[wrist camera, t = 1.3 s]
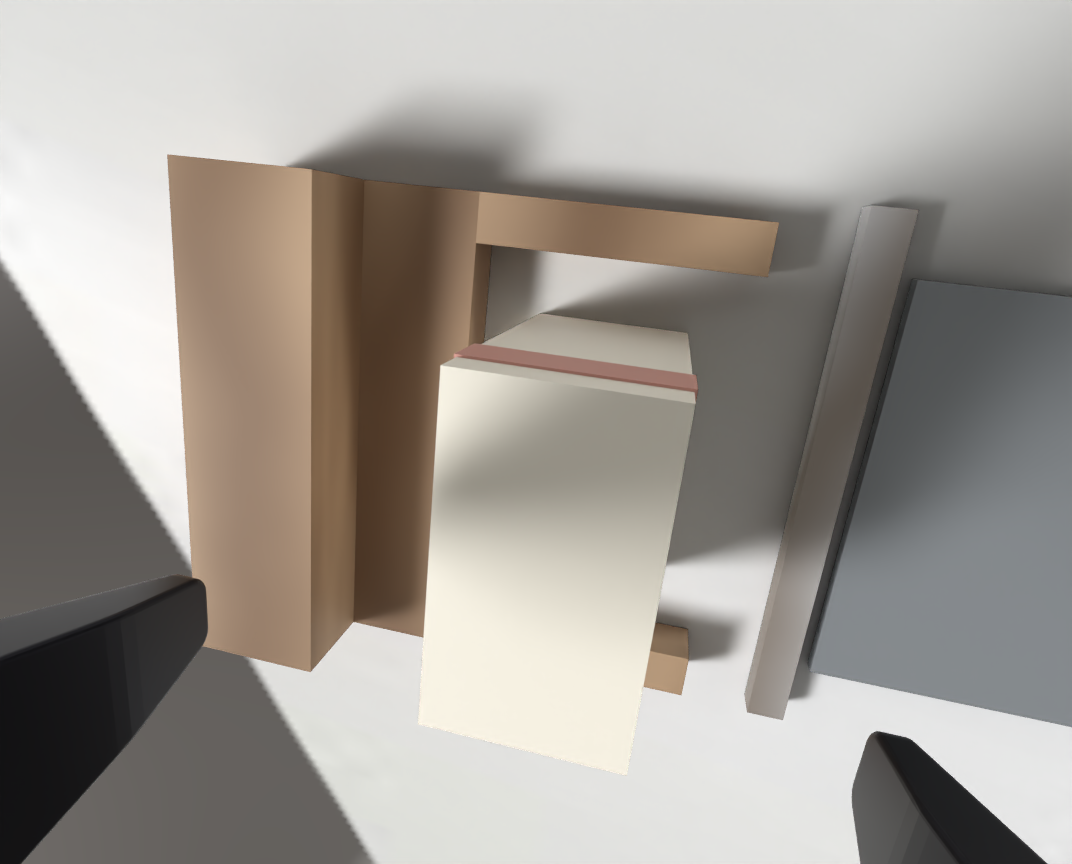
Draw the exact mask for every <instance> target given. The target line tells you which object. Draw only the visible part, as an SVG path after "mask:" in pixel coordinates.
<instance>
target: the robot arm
mask: <svg viewBox="0 0 1072 864" xmlns="http://www.w3.org/2000/svg"><path fill="white" fill-rule="evenodd" d="M207 634H208V613H207V595H206V587H205V585H204V583H203V582H202V581H201V580H200V579H197V578H192V577H188V576H183V575H178V574H173V575H168V576H164V577H161V578H157V579H153V580H149V581H145V582H142V583H138V584H134V585H130V586H126V587H122V588H118V589H114V590H110V591H107V592H102V593H99V594H95V595H91V596H87V597H83V598H79V599H75V600H71V601H68V602H64V603H60V604H56V605H52V606H49V607H44V608H40V609H37V610H33V611H29V612H25V613H22V614H17V615H13V616H9V617H6V618H2V619H0V864H22V862H23V861H24V860H25V859H26V858H27V857H28V856H29V855H30V853H31V852H32V851H33V850H34V849H35V848H36V847H37V846H38V845H39V844H40V842H41V841H42V840H43V839H44V838H45V837H46V836H47V835H48V834H49V832H50V831H51V830H52V829H53V828H54V827H55V826H56V825H57V824H58V822H59V821H60V820H61V819H62V818H63V817H64V816H65V815H66V814H67V812H68V811H69V810H70V809H71V808H72V807H73V806H74V805H75V803H76V802H77V801H78V800H79V799H80V798H81V797H82V796H83V795H84V793H85V792H86V791H87V790H88V789H89V788H90V787H91V786H92V784H93V783H94V782H95V781H96V780H97V779H98V778H99V776H101V774H102V773H103V772H104V771H105V770H106V769H107V768H108V767H109V766H110V764H111V763H112V762H113V761H114V760H115V759H116V758H117V757H118V755H119V754H120V753H121V752H122V751H123V750H124V749H125V747H126V746H127V745H128V744H129V743H130V742H131V740H132V739H133V738H134V737H135V735H136V734H137V733H138V732H139V730H140V729H141V728H142V727H143V725H144V724H145V723H146V721H147V720H148V718H149V717H150V716H151V715H152V713H153V712H154V711H155V709H156V708H157V707H158V705H159V704H160V703H161V701H162V700H163V699H164V697H165V696H166V695H167V693H168V692H169V691H170V689H171V688H172V687H173V685H174V684H175V683H176V681H177V680H178V679H179V677H180V676H181V674H182V673H183V672H184V671H185V669H186V668H187V667H188V665H189V664H190V663H191V661H192V660H193V659H194V657H195V656H196V655H197V653H198V652H199V650H200V649H201V648H202V646H203V644H204V642H205V640H206V638H207ZM852 808H853V815H854V822H855V829H856V836H857V843H858V850H859V857H860V864H1047V863H1046V862H1045V861H1044V860H1043V859H1042V858H1041V857H1040V856H1038V855H1037V854H1036V853H1035V852H1034V851H1033V850H1032V849H1031V848H1030V847H1029V846H1028V845H1026V844H1025V843H1024V842H1023V841H1022V840H1021V839H1020V838H1019V837H1018V836H1017V835H1015V834H1014V833H1013V832H1012V831H1011V830H1010V829H1009V828H1008V827H1007V826H1006V825H1005V824H1003V823H1002V822H1001V821H1000V820H999V819H998V818H997V817H996V816H995V815H994V814H992V813H991V812H990V811H989V810H988V809H987V808H986V807H985V806H984V805H983V804H982V803H980V802H979V801H978V800H977V799H976V798H975V797H974V796H973V795H972V794H971V793H969V792H968V791H967V790H966V789H965V788H964V787H963V786H962V785H961V784H960V783H959V782H957V781H956V780H955V779H954V778H953V777H952V776H951V775H950V774H949V773H948V772H946V771H945V770H944V769H943V768H942V767H941V766H940V765H939V764H938V763H937V762H936V761H934V760H933V759H932V758H931V757H930V756H929V755H928V754H927V753H926V752H925V751H923V750H922V749H921V748H920V747H919V746H918V745H917V744H916V743H915V742H913V741H912V740H911V739H909V738H906V737H902V736H897V735H893V734H888V733H884V732H879V731H876V732H874V733H872V734H871V735H870V736H869V738H868V740H867V742H866V745H865V748H864V751H863V755H862V758H861V761H860V764H859V767H858V770H857V773H856V777H855V780H854V783H853V788H852Z"/></svg>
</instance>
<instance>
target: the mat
mask: <svg viewBox="0 0 1072 864" xmlns="http://www.w3.org/2000/svg"><path fill="white" fill-rule="evenodd" d="M808 666H809V669H810V672H814V673H819V674H823V675H828V676H833V677H838V678H842V679H847V680H852V681H857V682H861V683H866V684H871V685H875V686H880V687H885V688H890V689H894V690H899V691H904V692H909V693H913V694H918V695H923V696H928V697H932V698H937V699H942V700H946V701H951V702H956V703H961V704H965V705H970V706H975V707H980V708H984V709H989V710H994V711H999V712H1003V713H1008V714H1013V715H1017V716H1022V717H1027V718H1032V719H1036V720H1041V721H1046V722H1051V723H1055V724H1060V725H1065V726H1070V727H1072V297H1068V296H1060V295H1051V294H1042V293H1033V292H1024V291H1016V290H1007V289H998V288H989V287H980V286H971V285H963V284H954V283H945V282H936V281H927V280H919V279H912V282H911V285H910V289H909V293H908V296H907V300H906V304H905V307H904V311H903V315H902V318H901V322H900V326H899V329H898V333H897V337H896V340H895V344H894V348H893V351H892V355H891V359H890V362H889V366H888V370H887V373H886V377H885V381H884V384H883V388H882V392H881V396H880V399H879V403H878V407H877V410H876V414H875V418H874V421H873V425H872V429H871V432H870V436H869V440H868V443H867V447H866V451H865V454H864V458H863V462H862V465H861V469H860V473H859V476H858V480H857V484H856V487H855V491H854V495H853V498H852V502H851V506H850V509H849V513H848V517H847V520H846V524H845V528H844V531H843V535H842V539H841V542H840V546H839V550H838V553H837V557H836V561H835V564H834V568H833V572H832V576H831V579H830V583H829V587H828V590H827V594H826V598H825V601H824V605H823V609H822V612H821V616H820V620H819V623H818V627H817V631H816V634H815V638H814V642H813V645H812V649H811V653H810V656H809V660H808Z"/></svg>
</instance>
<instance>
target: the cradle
mask: <svg viewBox="0 0 1072 864" xmlns="http://www.w3.org/2000/svg"><path fill="white" fill-rule="evenodd" d="M167 157H168V174H169V191H170V208H171V225H172V242H173V259H174V276H175V292H176V309H177V326H178V343H179V360H180V377H181V394H182V411H183V428H184V444H185V461H186V478H187V495H188V512H189V529H190V546H191V563H192V578H197V579H200V580H201V581H202V582H203V583H204V585H205V587H206V595H207V613H208V634H207V638H206V640H205V642H204V644H203V646H204V647H209V648H213V649H217V650H221V651H226V652H229V653H234V654H238V655H242V656H246V657H250V658H254V659H258V660H263V661H267V662H271V663H275V664H279V665H283V666H288V667H292V668H296V669H300V670H304V671H308V672H311V671H312V670H313V669H314V667H315V666H316V665H317V664H318V663H319V662H320V660H321V659H322V658H323V657H324V656H325V654H326V653H327V652H328V651H329V650H330V649H331V647H332V646H333V645H334V644H335V643H336V642H337V640H338V639H339V638H340V637H341V636H342V635H343V633H344V632H345V631H346V630H347V629H348V628H349V626H350V625H351V624H352V623H353V622H357V623H361V624H366V625H370V626H374V627H379V628H383V629H388V630H392V631H397V632H401V633H406V634H410V635H415V636H419V637H424V621H425V605H426V589H427V573H428V557H429V541H430V525H431V509H432V493H433V477H434V461H435V445H436V429H437V413H438V397H439V381H440V365H442V364H444V363H446V362H448V361H450V360H452V359H454V353H456V352H458V351H460V350H462V349H464V348H466V347H468V346H470V345H472V344H474V343H476V344H482V343H484V336H485V324H486V312H487V299H488V287H489V275H490V263H491V251H492V245H498V246H506V247H515V248H523V249H532V250H540V251H549V252H557V253H566V254H574V255H583V256H592V257H600V258H609V259H617V260H626V261H634V262H643V263H651V264H660V265H668V266H677V267H686V268H694V269H703V270H711V271H720V272H728V273H737V274H745V275H754V276H763V277H768V274H769V269H770V265H771V260H772V255H773V250H774V245H775V240H776V236H777V231H778V226H779V223H778V222H769V221H759V220H749V219H740V218H730V217H720V216H711V215H701V214H691V213H682V212H672V211H662V210H653V209H643V208H633V207H624V206H614V205H604V204H595V203H585V202H575V201H566V200H556V199H546V198H537V197H527V196H517V195H508V194H498V193H488V192H479V191H469V190H459V189H450V188H440V187H430V186H421V185H411V184H401V183H392V182H382V181H372V180H363V179H358V178H353V177H348V176H343V175H338V174H333V173H328V172H323V171H318V170H313V169H304V168H294V167H284V166H275V165H265V164H255V163H245V162H235V161H226V160H216V159H206V158H196V157H186V156H177V155H167ZM918 212H919V210H916V209H906V208H895V207H885V206H875V205H870V206H865V207H862V211H861V215H860V219H859V223H858V227H857V231H856V236H855V240H854V244H853V248H852V252H851V256H850V260H849V265H848V269H847V273H846V277H845V281H844V285H843V289H842V293H841V298H840V302H839V306H838V310H837V314H836V318H835V322H834V326H833V331H832V335H831V339H830V343H829V347H828V351H827V355H826V360H825V364H824V368H823V372H822V376H821V380H820V384H819V388H818V393H817V397H816V401H815V405H814V409H813V413H812V417H811V422H810V426H809V430H808V434H807V438H806V442H805V446H804V450H803V455H802V459H801V463H800V467H799V471H798V475H797V479H796V484H795V488H794V492H793V496H792V500H791V504H790V508H789V512H788V517H787V521H786V525H785V529H784V533H783V537H782V541H781V545H780V550H779V554H778V558H777V562H776V566H775V570H774V574H773V579H772V583H771V587H770V591H769V595H768V599H767V603H766V607H765V612H764V616H763V620H762V624H761V628H760V632H759V636H758V641H757V645H756V649H755V653H754V657H753V661H752V665H751V669H750V674H749V678H748V682H747V686H746V690H745V701H746V708H747V712H749V713H753V714H758V715H762V716H767V717H771V718H775V719H780V720H783V717H784V714H785V710H786V706H787V702H788V699H789V695H790V691H791V687H792V684H793V680H794V676H795V672H796V669H797V665H798V661H799V658H800V654H801V650H802V646H803V643H804V639H805V635H806V631H807V628H808V624H809V620H810V616H811V613H812V609H813V605H814V601H815V598H816V594H817V590H818V586H819V583H820V579H821V575H822V571H823V568H824V564H825V560H826V556H827V553H828V549H829V545H830V541H831V538H832V534H833V530H834V526H835V523H836V519H837V515H838V511H839V508H840V504H841V500H842V496H843V493H844V489H845V485H846V481H847V478H848V474H849V470H850V466H851V463H852V459H853V455H854V452H855V448H856V444H857V440H858V437H859V433H860V429H861V425H862V422H863V418H864V414H865V410H866V407H867V403H868V399H869V395H870V392H871V388H872V384H873V380H874V377H875V373H876V369H877V365H878V362H879V358H880V354H881V350H882V347H883V343H884V339H885V335H886V332H887V328H888V324H889V320H890V317H891V313H892V309H893V305H894V302H895V298H896V294H897V290H898V287H899V283H900V279H901V275H902V272H903V268H904V264H905V260H906V257H907V253H908V249H909V245H910V242H911V238H912V234H913V231H914V227H915V223H916V219H917V216H918ZM688 660H689V651H688V629H684V628H680V627H675V626H670V625H665V624H660V623H655V627H654V632H653V637H652V643H651V648H650V654H649V659H648V664H647V670H646V675H645V680H644V686H643V687H647V688H651V689H656V690H660V691H665V692H669V693H674V694H678V695H681V694H682V689H683V685H684V680H685V675H686V670H687V665H688Z"/></svg>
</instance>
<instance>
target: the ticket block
mask: <svg viewBox="0 0 1072 864" xmlns="http://www.w3.org/2000/svg"><path fill="white" fill-rule="evenodd" d="M697 393H698V384H697V377H696V375H693V374H692V365H691V356H690V347H689V338H688V333H684V332H677V331H669V330H662V329H654V328H647V327H639V326H632V325H624V324H617V323H609V322H602V321H594V320H587V319H579V318H572V317H564V316H557V315H549V314H542V313H540V314H538V315H536V316H534V317H532V318H530V319H528V320H526V321H524V322H522V323H521V324H519V325H517V326H515V327H513V328H511V329H509V330H507V331H505V332H503V333H501V334H499V335H498V336H496V337H494V338H492V339H490V340H488V341H486V342H484V343H482V344H476V343H474V344H472V345H470V346H468V347H466V348H464V349H462V350H460V351H458V352H456V353H454V359H452V360H450V361H448V362H446V363H444V364H442V365H440V381H439V397H438V413H437V429H436V445H435V461H434V477H433V493H432V509H431V525H430V541H429V557H428V573H427V589H426V605H425V621H424V637H423V653H422V669H421V685H420V701H419V717H418V724H419V725H423V726H427V727H431V728H435V729H439V730H443V731H447V732H451V733H455V734H459V735H463V736H467V737H472V738H476V739H480V740H484V741H488V742H492V743H496V744H500V745H504V746H508V747H512V748H516V749H520V750H524V751H528V752H532V753H536V754H540V755H544V756H548V757H552V758H556V759H560V760H565V761H569V762H573V763H577V764H581V765H585V766H589V767H593V768H597V769H601V770H605V771H609V772H613V773H617V774H621V775H625V776H627V772H628V767H629V761H630V756H631V751H632V745H633V740H634V734H635V729H636V724H637V718H638V713H639V707H640V702H641V697H642V691H643V686H644V680H645V675H646V670H647V664H648V659H649V654H650V648H651V643H652V637H653V632H654V627H655V621H656V616H657V610H658V605H659V600H660V594H661V589H662V583H663V578H664V573H665V567H666V562H667V556H668V551H669V546H670V540H671V535H672V529H673V524H674V519H675V513H676V508H677V502H678V497H679V492H680V486H681V481H682V475H683V470H684V465H685V459H686V454H687V449H688V443H689V438H690V432H691V427H692V422H693V416H694V411H695V405H696V399H697Z"/></svg>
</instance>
